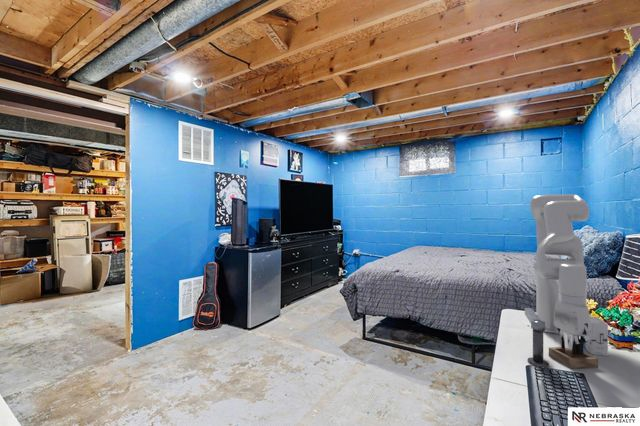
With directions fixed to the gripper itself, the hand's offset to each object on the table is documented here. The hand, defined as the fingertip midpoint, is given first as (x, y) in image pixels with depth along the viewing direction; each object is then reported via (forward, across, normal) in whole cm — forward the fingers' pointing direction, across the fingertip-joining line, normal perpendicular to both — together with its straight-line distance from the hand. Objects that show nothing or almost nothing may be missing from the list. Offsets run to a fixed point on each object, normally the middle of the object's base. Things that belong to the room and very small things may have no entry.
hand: (572, 350), depth 106 cm
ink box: (+4, -7, +16) cm, 18 cm away
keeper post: (+4, 0, -13) cm, 14 cm away
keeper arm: (-8, -6, -10) cm, 14 cm away
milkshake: (+2, 0, 0) cm, 2 cm away
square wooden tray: (+4, 0, 0) cm, 4 cm away
